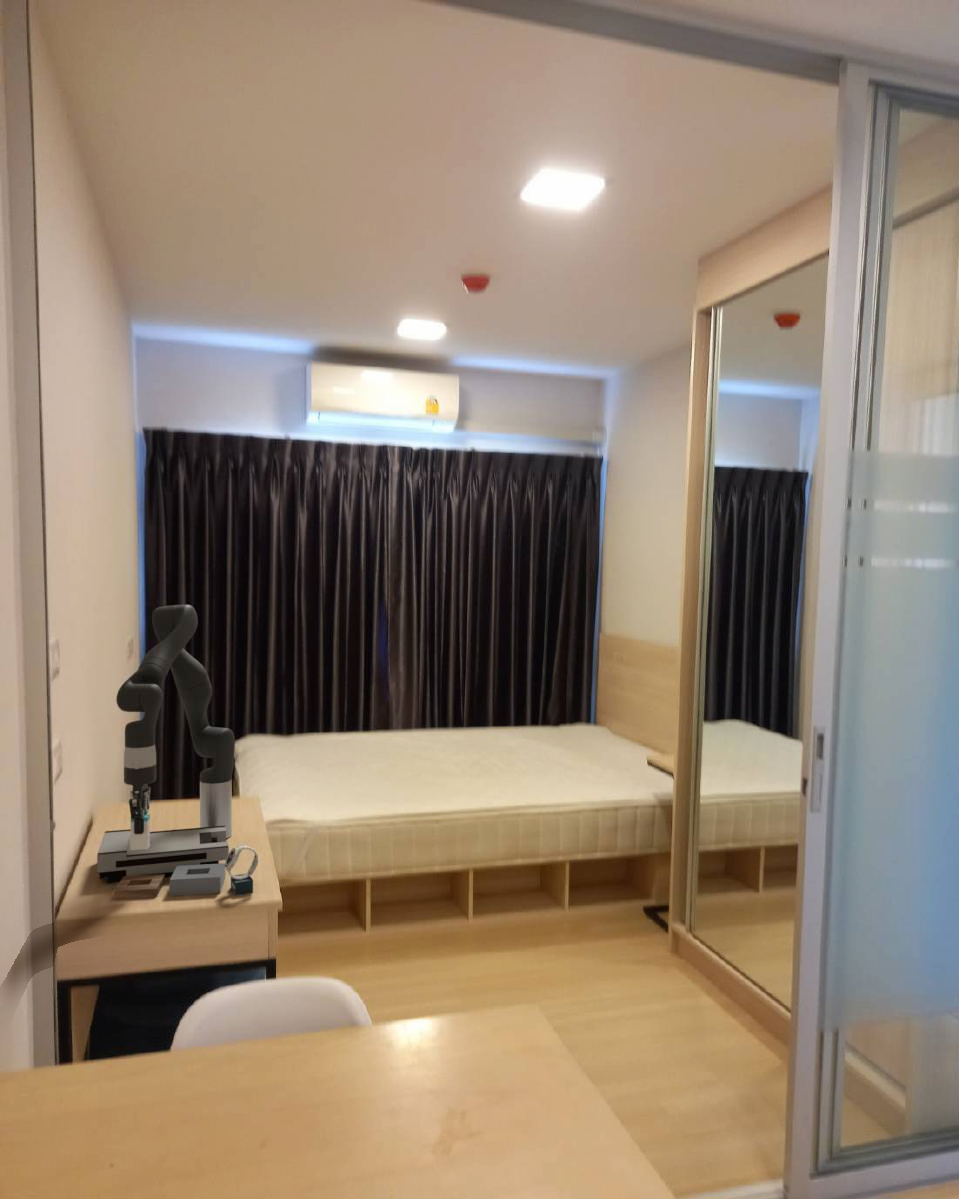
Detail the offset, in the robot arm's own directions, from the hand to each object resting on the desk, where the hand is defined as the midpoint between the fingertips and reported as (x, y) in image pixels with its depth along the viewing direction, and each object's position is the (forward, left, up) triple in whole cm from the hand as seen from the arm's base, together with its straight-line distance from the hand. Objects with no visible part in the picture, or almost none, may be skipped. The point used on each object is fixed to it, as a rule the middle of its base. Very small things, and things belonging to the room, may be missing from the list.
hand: (140, 831), depth 205 cm
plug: (0, 0, -4) cm, 4 cm away
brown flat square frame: (0, 0, -15) cm, 15 cm away
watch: (+4, +25, -15) cm, 29 cm away
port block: (0, +14, -15) cm, 20 cm away
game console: (-18, +3, -15) cm, 24 cm away
